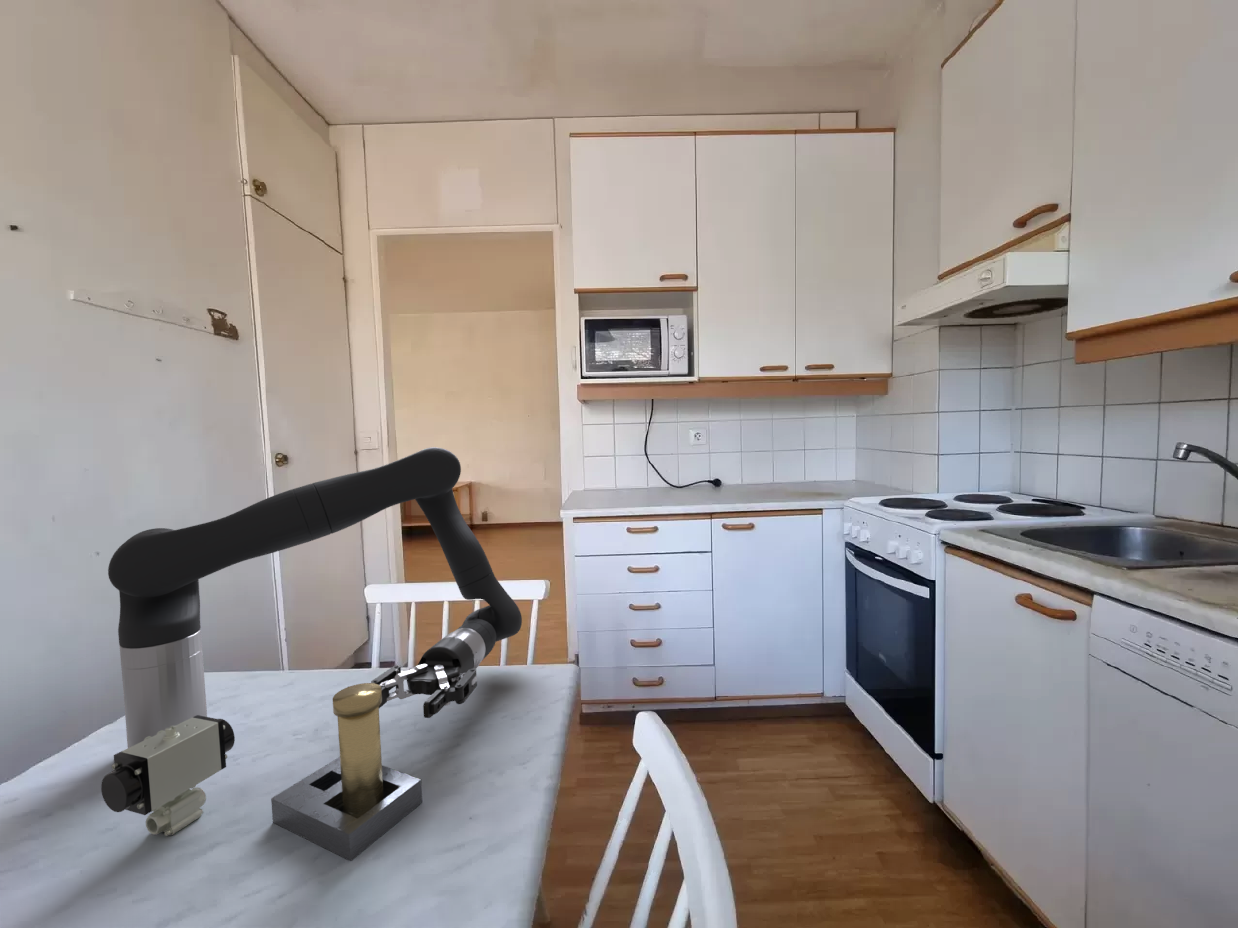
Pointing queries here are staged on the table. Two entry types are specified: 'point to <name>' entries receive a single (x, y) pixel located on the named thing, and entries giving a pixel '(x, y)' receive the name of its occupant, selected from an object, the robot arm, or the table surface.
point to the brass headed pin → (359, 747)
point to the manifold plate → (320, 810)
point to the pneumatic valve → (169, 773)
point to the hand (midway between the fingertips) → (396, 709)
